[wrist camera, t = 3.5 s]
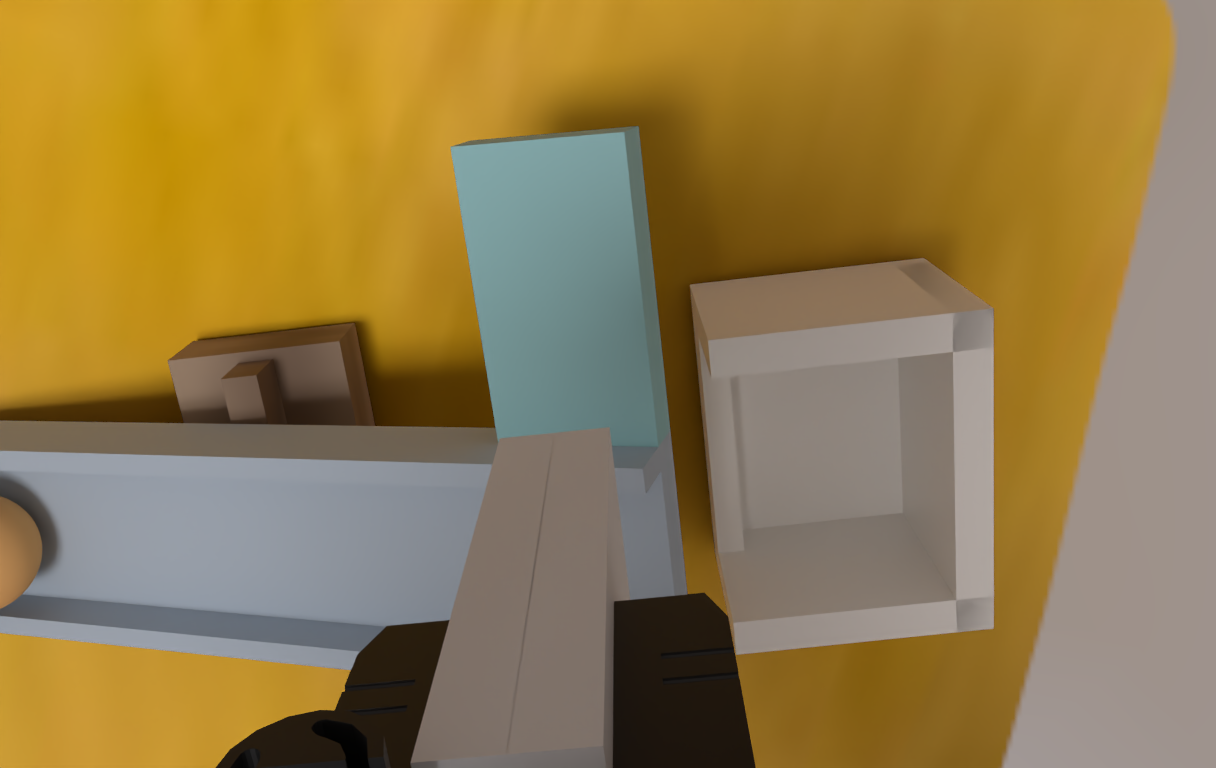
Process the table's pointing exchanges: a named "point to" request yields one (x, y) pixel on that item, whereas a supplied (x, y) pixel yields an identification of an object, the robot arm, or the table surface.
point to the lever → (371, 449)
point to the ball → (17, 551)
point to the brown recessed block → (275, 379)
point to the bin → (848, 453)
